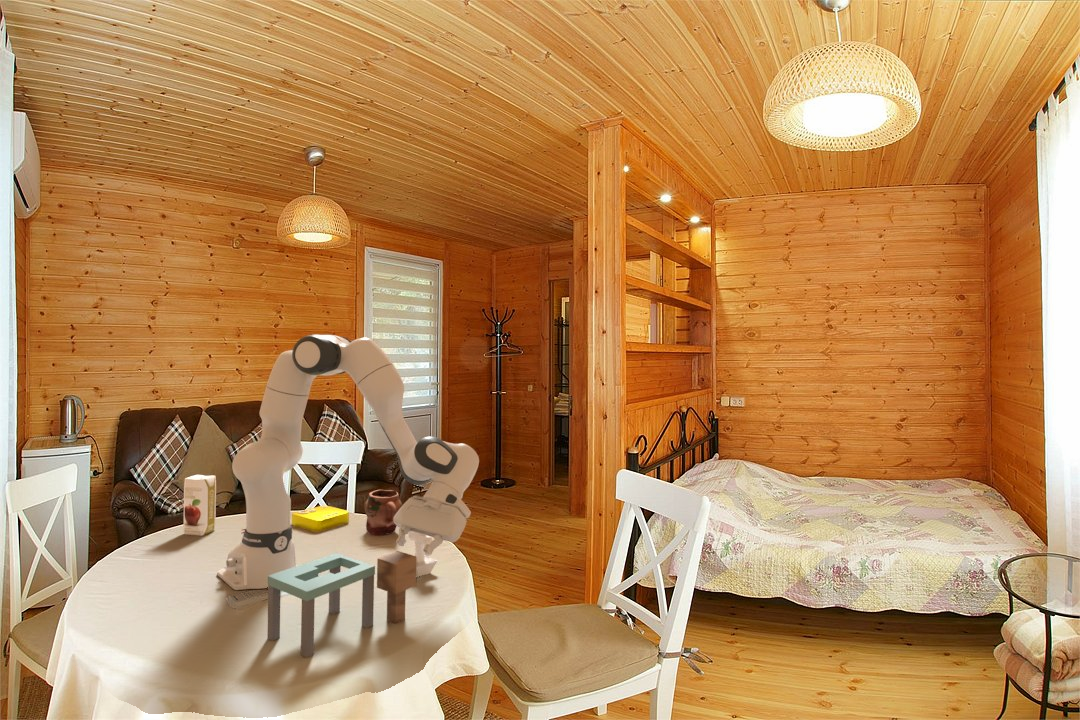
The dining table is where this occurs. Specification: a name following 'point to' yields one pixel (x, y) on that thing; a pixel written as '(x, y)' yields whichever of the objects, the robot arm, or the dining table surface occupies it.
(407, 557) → the walnut peg
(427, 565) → the figurine
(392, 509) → the decorative planter
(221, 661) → the dining table surface
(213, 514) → the juice carton
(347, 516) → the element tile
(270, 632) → the keyhole shelf
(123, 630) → the dining table surface
